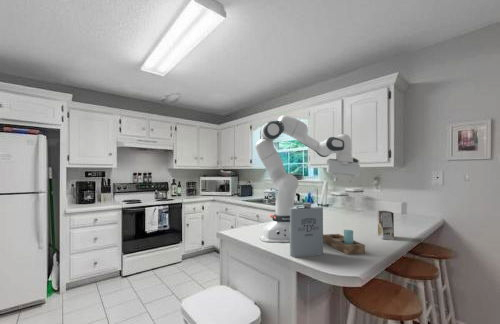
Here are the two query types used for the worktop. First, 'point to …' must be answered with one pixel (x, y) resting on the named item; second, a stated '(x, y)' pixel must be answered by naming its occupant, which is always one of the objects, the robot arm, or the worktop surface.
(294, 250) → the flask
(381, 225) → the coffee box
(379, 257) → the worktop surface
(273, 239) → the robot arm
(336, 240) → the wooden compartment tray
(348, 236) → the peg
